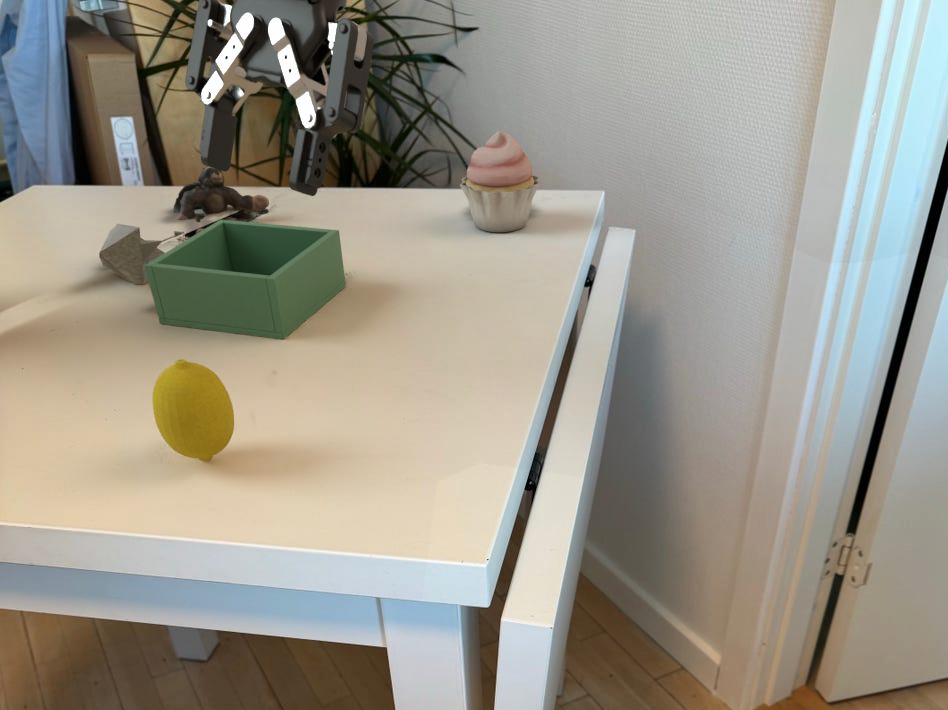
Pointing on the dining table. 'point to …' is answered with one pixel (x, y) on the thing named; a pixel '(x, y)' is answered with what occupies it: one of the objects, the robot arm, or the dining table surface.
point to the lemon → (193, 410)
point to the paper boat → (130, 252)
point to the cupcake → (500, 185)
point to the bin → (247, 278)
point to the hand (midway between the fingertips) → (257, 180)
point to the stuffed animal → (216, 200)
